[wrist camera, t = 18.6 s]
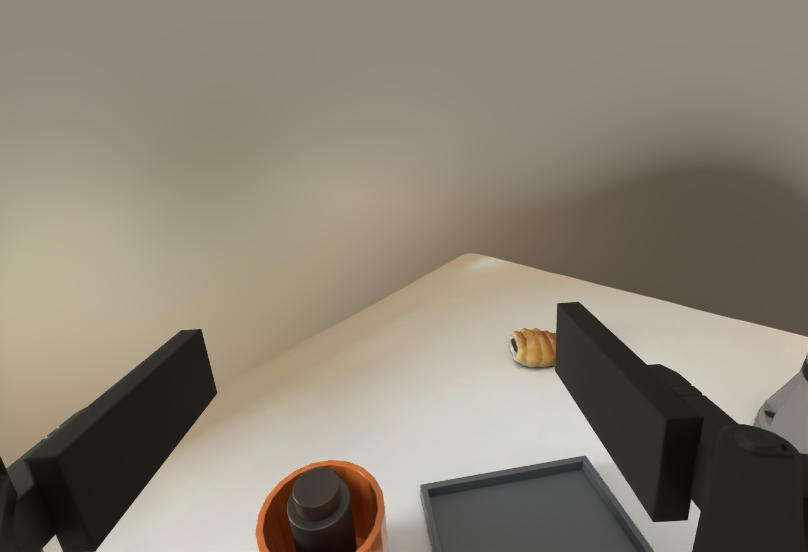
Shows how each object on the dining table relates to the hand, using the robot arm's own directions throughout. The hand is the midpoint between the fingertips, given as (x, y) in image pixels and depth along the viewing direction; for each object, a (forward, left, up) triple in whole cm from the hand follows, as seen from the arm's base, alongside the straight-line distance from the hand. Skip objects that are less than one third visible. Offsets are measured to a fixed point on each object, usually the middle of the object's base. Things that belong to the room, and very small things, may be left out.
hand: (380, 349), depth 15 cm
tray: (-12, -8, -28) cm, 31 cm away
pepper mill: (+5, -8, -27) cm, 29 cm away
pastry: (-25, -34, -28) cm, 51 cm away
